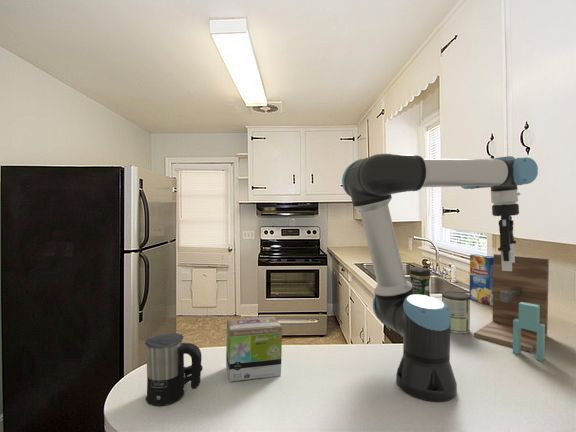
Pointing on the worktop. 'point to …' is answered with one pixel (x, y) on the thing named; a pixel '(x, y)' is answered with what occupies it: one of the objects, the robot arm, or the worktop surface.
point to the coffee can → (458, 310)
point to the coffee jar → (420, 280)
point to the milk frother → (170, 368)
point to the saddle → (529, 328)
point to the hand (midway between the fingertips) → (508, 266)
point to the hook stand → (517, 300)
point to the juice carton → (481, 278)
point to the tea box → (253, 348)
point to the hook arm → (510, 294)
